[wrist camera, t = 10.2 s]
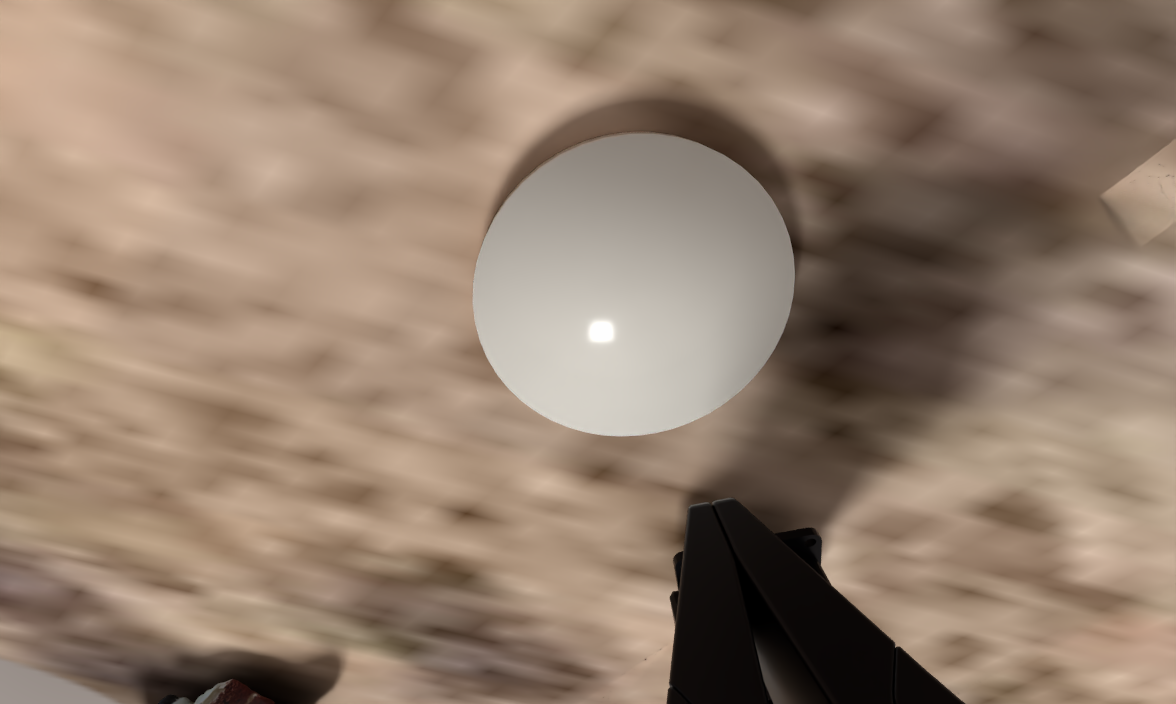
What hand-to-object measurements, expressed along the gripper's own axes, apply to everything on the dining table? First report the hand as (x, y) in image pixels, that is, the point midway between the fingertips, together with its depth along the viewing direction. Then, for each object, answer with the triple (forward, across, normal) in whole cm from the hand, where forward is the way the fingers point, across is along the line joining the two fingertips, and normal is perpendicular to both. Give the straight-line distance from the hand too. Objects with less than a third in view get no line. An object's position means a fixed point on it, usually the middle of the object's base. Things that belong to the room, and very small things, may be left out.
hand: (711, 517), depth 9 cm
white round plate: (+10, 0, 0) cm, 10 cm away
